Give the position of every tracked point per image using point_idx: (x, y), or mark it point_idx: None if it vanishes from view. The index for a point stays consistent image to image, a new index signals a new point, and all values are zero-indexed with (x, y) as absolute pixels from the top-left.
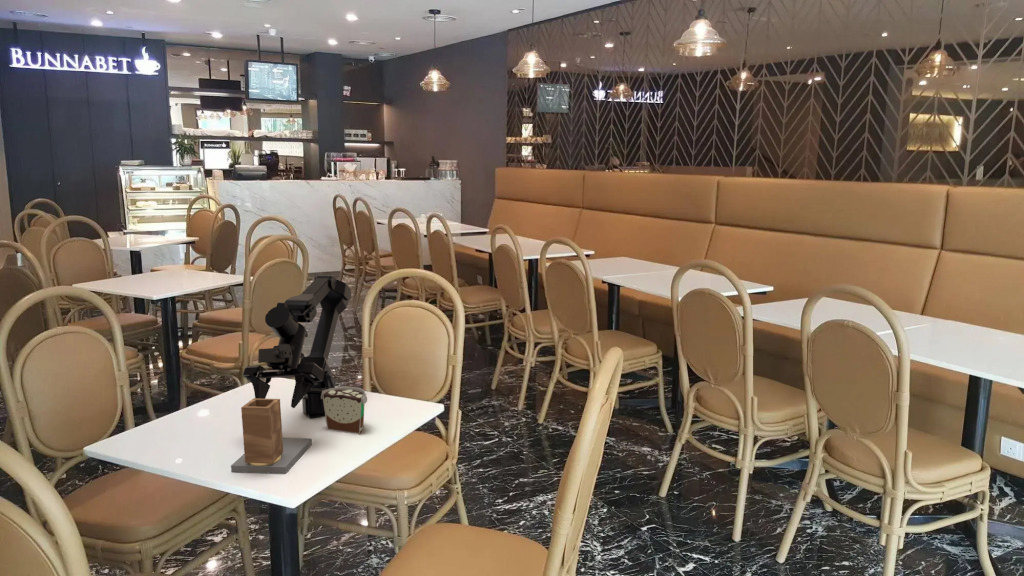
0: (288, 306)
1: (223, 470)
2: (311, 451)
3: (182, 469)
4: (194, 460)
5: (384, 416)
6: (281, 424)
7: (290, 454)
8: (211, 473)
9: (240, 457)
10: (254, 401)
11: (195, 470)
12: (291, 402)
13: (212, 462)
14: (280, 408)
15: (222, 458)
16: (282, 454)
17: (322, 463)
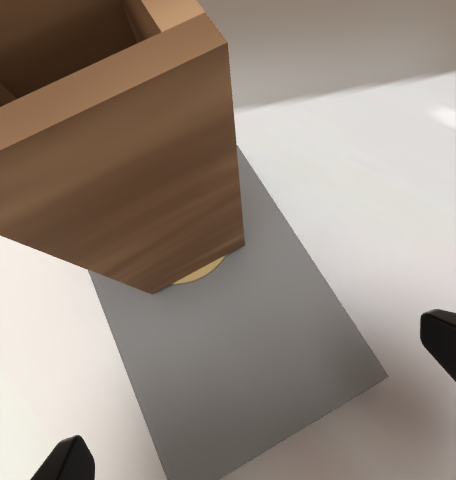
0: None
1: (269, 152)
2: (133, 424)
3: (375, 95)
4: (416, 142)
5: None
6: (91, 270)
7: (130, 310)
8: (279, 124)
9: (266, 194)
10: (148, 17)
11: (337, 111)
12: (58, 468)
13: (353, 164)
14: (6, 236)
15: (358, 197)
16: (157, 293)
17: (24, 361)
